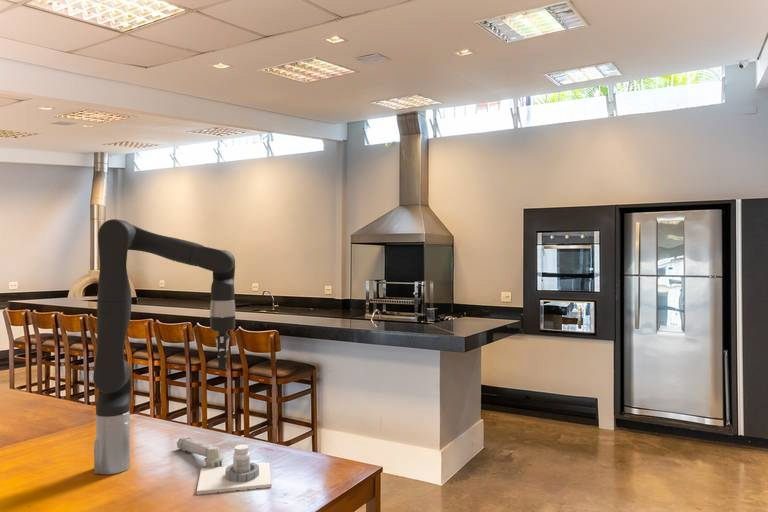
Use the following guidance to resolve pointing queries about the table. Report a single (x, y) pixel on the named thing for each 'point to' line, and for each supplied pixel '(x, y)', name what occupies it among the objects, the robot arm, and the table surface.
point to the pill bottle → (241, 459)
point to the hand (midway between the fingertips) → (222, 366)
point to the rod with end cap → (202, 451)
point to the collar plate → (223, 485)
